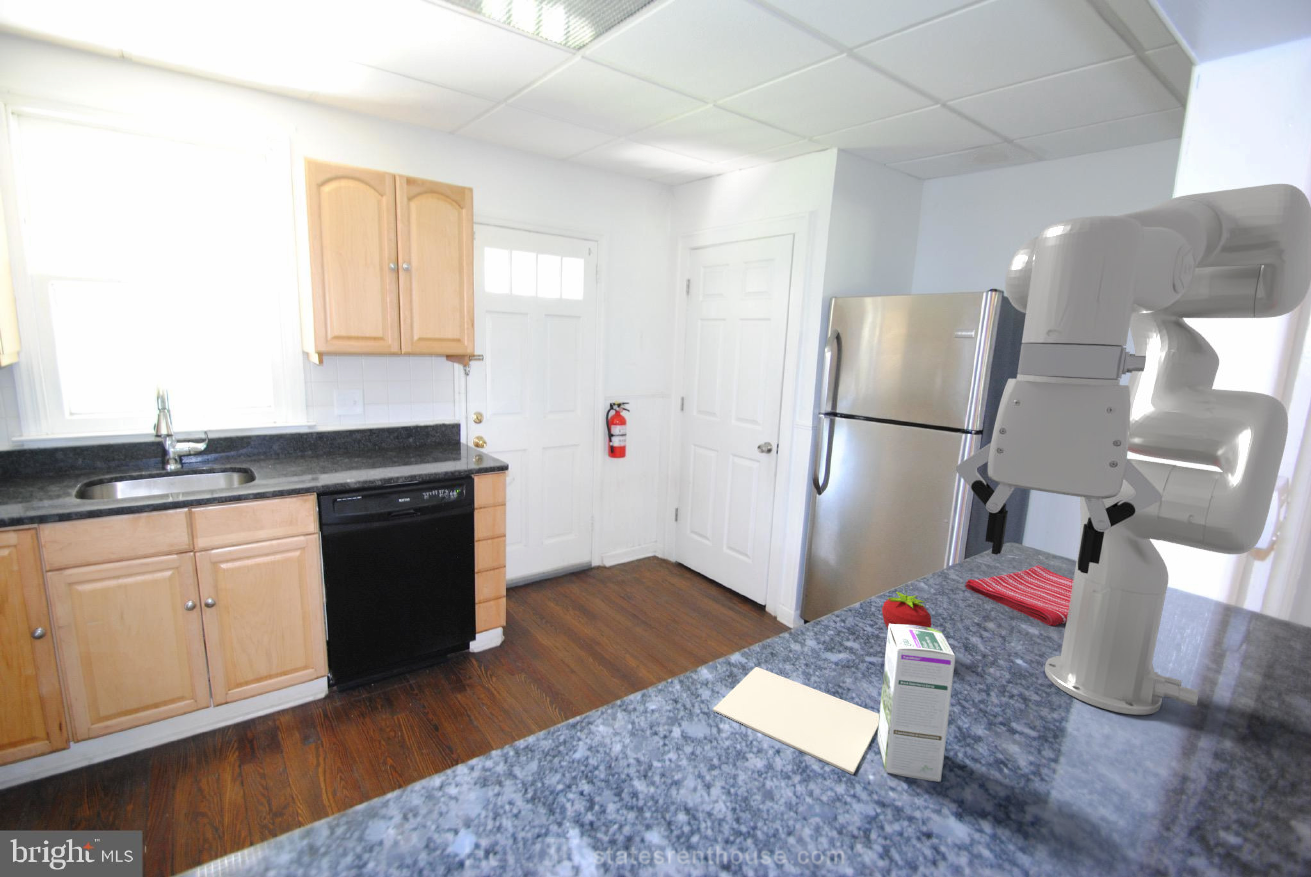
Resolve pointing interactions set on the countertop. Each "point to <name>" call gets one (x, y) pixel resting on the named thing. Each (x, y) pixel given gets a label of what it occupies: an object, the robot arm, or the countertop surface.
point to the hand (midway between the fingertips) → (1038, 557)
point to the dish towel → (1029, 593)
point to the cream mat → (802, 718)
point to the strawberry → (905, 611)
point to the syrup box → (915, 701)
